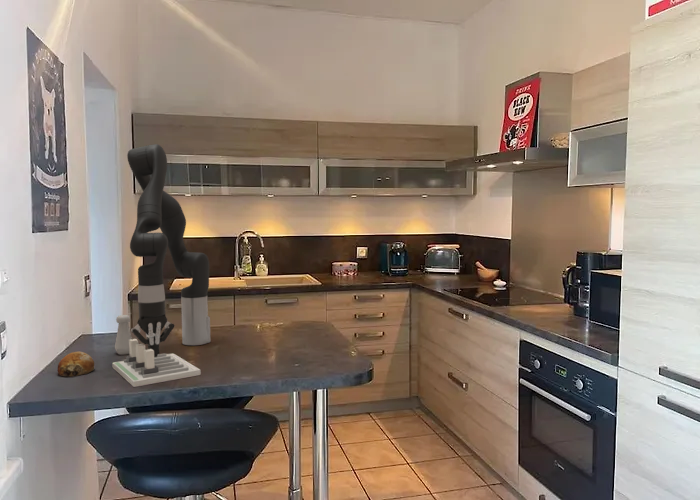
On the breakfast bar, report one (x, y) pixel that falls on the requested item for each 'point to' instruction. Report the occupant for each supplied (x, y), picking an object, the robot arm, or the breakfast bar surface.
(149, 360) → the breaker
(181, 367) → the panel
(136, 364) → the breaker
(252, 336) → the breakfast bar surface
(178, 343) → the breakfast bar surface
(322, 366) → the breakfast bar surface
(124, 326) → the salt shaker
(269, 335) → the breakfast bar surface
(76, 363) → the bread roll
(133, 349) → the breaker
